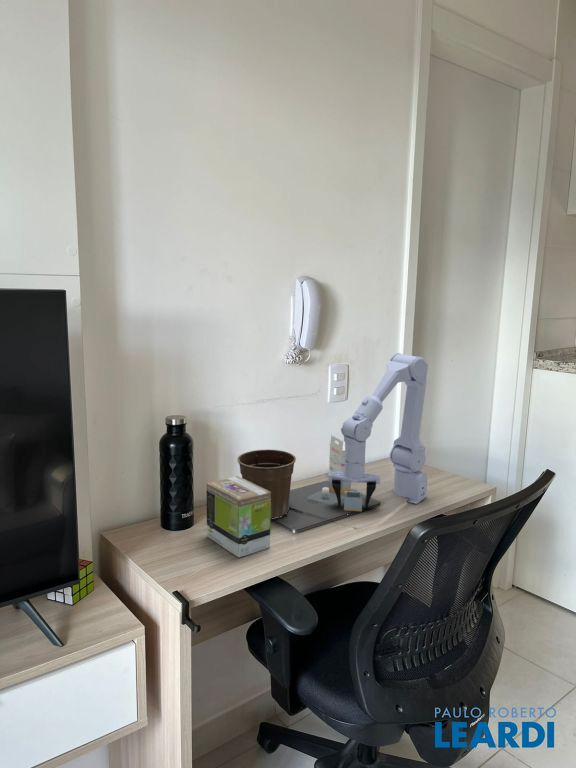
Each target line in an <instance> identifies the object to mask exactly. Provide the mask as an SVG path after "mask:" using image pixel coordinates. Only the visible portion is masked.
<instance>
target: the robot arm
mask: <svg viewBox="0 0 576 768" xmlns="http://www.w3.org/2000/svg"><path fill="white" fill-rule="evenodd" d="M428 369H429V364H428V362H426V360H425V358H424V357H422V356H415V355H410V354H405V353H403V354H402V353H399V352H397V353H394V354H393V355H392V356H391V357H390V359H389V360H388V361H387V363H386V371H385V373H384V375H383V376H382V378H381V380H380V382H379V383H378V385H377V387H376V388H375V389H374V391H373V392H372V393H373V394H372V395H371V396H370V395H369V396H366V397H365V398H364V399H363V400H362V401H361V403H360V405H359V407H357V410H356V411H355V412H354V413H353V415H352V416H351V417H349V418H347V419H345V420H344V422H343V423H342V427H341V428H340V432H341V434H342V436H343V442H344V444H345V463H344V472H341V473H329V472H328V476H327V477H328V478H327V480H328V481H329V482H332V487H333V489H334V491H335V493H336V496H337V500H338V502H337V506H338V507H341V505H342V500H341V481H344V482H351V483H362V484H363V483H364V484H366V490H365V491H366V494H365V503H364V505H365V507H364V509H368V507H369V503H370V500H371V498H372V496H373V494H374V492H375V491H376V488H377V485H380V484H381V476H380V475H376V474H370V473H365V469H366V446H367V445H366V442H367V439H369V437H371V434H372V428H373V424H374V422H375V420H376V419H377V418H378V417H379V415H380V414H381V412H382V410H383V408H384V407H383V402H384V401H385V399H386V398H387V397H388V396H389V395H390V394H391V392H392V391H393V389H394V388H395V387H396V386H397V384H398V383H402V382H404V384H405V385H406V393H405V400H404V405H403V406H404V408H403V415H402V421H401V430H400V436H399V437H398V438H396V439H395V440H394V441H393V446H392V447H391V450H390V452H389V458H390V461H391V463H393V466H392V467H393V468H394V478H393V479H394V481H393V494H394V495H396V496H397V497H402V498H408V499H407V500H406V502H407V503H411V504H415V505H418V504H419V503H420V502H421V501H423V500H424V499H426V498H427V497H428V495H427V488H428V485H427V484H428V475H427V473H426V472H424V471H422V470H423V467H424V466H425V463H426V453H425V452H426V451H425V450H426V446H425V445H424V444H423V443H422V441H421V440H420V439H419V438H420V432H421V425H422V418H423V409H424V404H425V394H426V390H427V389H426V388H427V374H428ZM328 481H327V482H328Z"/></svg>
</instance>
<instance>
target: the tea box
mask: <svg viewBox="0 0 576 768" xmlns="http://www.w3.org/2000/svg"><path fill="white" fill-rule="evenodd" d="M270 516H271V492H270V491H268V490H266V489H264V488H262V487H260V486H258V485H255V484H253V483H251V482H249V481H247V480H245V479H243V478H242V477H240V476H238V475H235V476H232V477H227V478H224V479H223V478H222V479H219V480H214V481H209V482H207V483H206V537H207V538H209V539H210V540H212V541H213V542H215V543H217V544H218V545H219V546H221V547H222V548H223V549H225V550H227V551H228V552H229V553H231V554H232V555H234V556H235V557H237V558H241V557H245V556H248V555H252V554H255V553H258V552H261V551H263V550H267V549H269V548H270V547H271V520H270Z"/></svg>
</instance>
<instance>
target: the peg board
mask: <svg viewBox="0 0 576 768" xmlns="http://www.w3.org/2000/svg"><path fill="white" fill-rule="evenodd" d="M349 491H353V492H359V491H358V490H357V489H353V488H351V490H349ZM344 497H345V493H344V494H341V501H343V500H344ZM306 499H308V500H311V501H315V502H319V503H322V504H326V505H329V506H333V505H335V504H338V500H337V496H336V493H335V492H331V491H329V488H328V486H325V487H322V488H321V490H318V491H317V492H314V493H313V494H311V495H309V496H307V497H306Z"/></svg>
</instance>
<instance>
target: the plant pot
mask: <svg viewBox="0 0 576 768" xmlns="http://www.w3.org/2000/svg"><path fill="white" fill-rule="evenodd" d="M296 460H297V458H296V456H295V455H294V454H293V453H291V452H289V451H285V450H279V449H256V450H250V451H247V452H244V453H242V454H240V455H238V457H237V463H238V464H239V470H240V471H239V472H240V474H241V478H243V479H245V480H247V481H249V482H251V483H253V484H255V485H258V486H260V487H262V488H264V489H266V490H268V491H270V492H271V516H270V521H272V520H271V519H272V518H275V517H280V516H283V515H284V516H286V515H285V514H286V513H287V512H289V506H290V496H291V495H290V492H291V484H292V477H293V476H292V475H293V473H294V466H295V463H296ZM287 514H288V513H287ZM284 516H283V517H284Z"/></svg>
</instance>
